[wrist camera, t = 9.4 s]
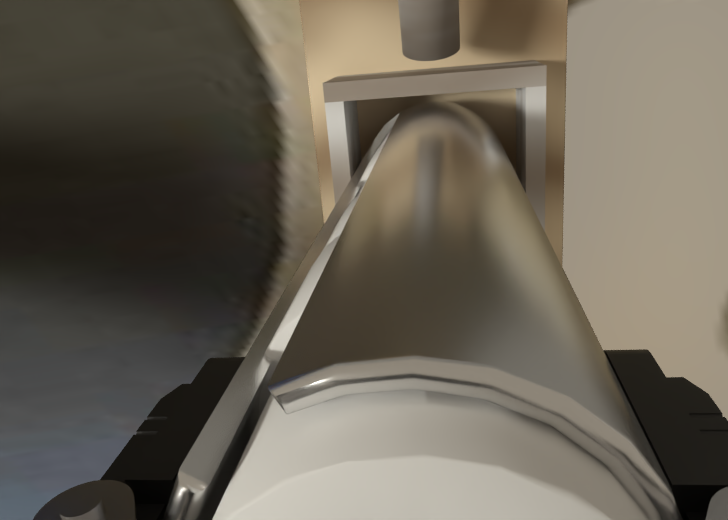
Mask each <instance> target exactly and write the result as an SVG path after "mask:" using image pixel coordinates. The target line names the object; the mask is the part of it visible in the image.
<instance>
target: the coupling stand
mask: <svg viewBox="0 0 728 520" xmlns="http://www.w3.org/2000/svg"><path fill="white" fill-rule="evenodd" d="M299 3H300V12H301V21H302V30H303V39H304V48H305V57H306V66H307V75H308V84H309V93H310V102H311V111H312V119H313V128H314V137H315V146H316V155H317V164H318V173H319V182H320V191H321V200H322V209H323V218H324V224H325V222H326V220H327V219H328V217H329V215H330V214H331V212H332V210H333V208H334V207H335V205H336V203H337V202H338V200H339V198H340V197H341V195H342V193H343V192H344V190H345V188H346V187H347V185H348V183H349V181H350V180H351V178H352V176H353V175H354V173H355V171H356V170H357V168H358V166H359V165H360V163H361V161H362V160H363V158H364V156H365V154H366V153H367V151H368V149H369V148H370V146H371V144H372V143H373V141H374V139H375V138H376V136H377V135H378V134H379V132H380V131H381V129H382V128H383V127H384V125H385V124H386V123H387V122H388V121H390V120H391V119H392V118H393V117H395V116H396V115H397V114H398V113H399V112H401V111H403V110H406V109H408V108H410V107H412V106H415V105H417V104H423V103H429V102H435V101H436V102H445V103H454V104H457V105H460V106H462V107H465V108H467V109H470V110H472V111H473V112H475V113H476V114H477V115H479V116H480V117H481V118H483V119H484V120H485V121H486V122H487V123H488V124H489V125H490V127H491V128H492V129H493V131H494V132H495V133H496V135H497V136H498V138H499V140H500V142H501V144H502V146H503V148H504V150H505V152H506V154H507V156H508V158H509V160H510V162H511V164H512V166H513V168H514V170H515V172H516V174H517V176H518V178H519V180H520V183H521V185H522V187H523V189H524V191H525V193H526V195H527V197H528V199H529V201H530V203H531V205H532V207H533V209H534V211H535V213H536V215H537V217H538V219H539V221H540V223H541V225H542V227H543V229H544V231H545V233H546V235H547V237H548V239H549V241H550V243H551V246H552V248H553V250H554V252H555V254H556V256H557V258H558V260H559V262H560V264H561V266H562V249H563V199H564V198H563V197H564V196H563V195H564V150H565V149H564V148H565V101H566V100H565V98H566V52H567V51H566V50H567V3H568V0H299Z"/></svg>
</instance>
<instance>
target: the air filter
mask: <svg viewBox="0 0 728 520" xmlns="http://www.w3.org/2000/svg"><path fill="white" fill-rule="evenodd" d="M163 520H683V519H682V516H681V513H680V510H679V508H678V505H677V502H676V499H675V497H674V494H673V491H672V489H671V487H670V485H669V483H668V481H667V479H666V477H665V475H664V473H663V471H662V469H661V467H660V465H659V463H658V461H657V459H656V457H655V455H654V453H653V451H652V449H651V447H650V445H649V443H648V441H647V439H646V436H645V434H644V432H643V430H642V428H641V426H640V424H639V422H638V420H637V418H636V416H635V414H634V412H633V410H632V408H631V406H630V404H629V402H628V400H627V398H626V396H625V394H624V392H623V390H622V388H621V386H620V384H619V382H618V380H617V378H616V376H615V374H614V371H613V369H612V367H611V365H610V363H609V361H608V359H607V357H606V355H605V353H604V351H603V349H602V347H601V345H600V343H599V341H598V339H597V337H596V335H595V333H594V331H593V329H592V327H591V325H590V323H589V321H588V319H587V317H586V315H585V313H584V311H583V308H582V307H581V304H580V302H579V300H578V298H577V297H576V294H575V292H574V290H573V288H572V286H571V284H570V282H569V280H568V278H567V276H566V274H565V272H564V270H563V268H562V266H561V264H560V262H559V260H558V258H557V256H556V254H555V252H554V250H553V248H552V246H551V243H550V241H549V239H548V237H547V235H546V233H545V231H544V229H543V227H542V225H541V223H540V221H539V219H538V217H537V215H536V213H535V211H534V209H533V207H532V205H531V203H530V201H529V199H528V197H527V195H526V193H525V191H524V189H523V187H522V185H521V183H520V180H519V178H518V176H517V174H516V172H515V170H514V168H513V166H512V164H511V162H510V160H509V158H508V156H507V154H506V152H505V150H504V148H503V146H502V144H501V142H500V140H499V138H498V136H497V135H496V133H495V132H494V131H493V129H492V128H491V127H490V125H489V124H488V123H487V122H486V121H485V120H484V119H483V118H481V117H480V116H479V115H477V114H476V113H475V112H473V111H472V110H470V109H467V108H465V107H462V106H460V105H457V104H454V103H445V102H436V101H435V102H429V103H423V104H417V105H415V106H412V107H410V108H408V109H406V110H403V111H401V112H399V113H398V114H397V115H396V116H395V117H393V118H392V119H391V120H390V121H388V122H387V123H386V124H385V125H384V127H383V128H382V129H381V131H380V132H379V134H378V135H377V136H376V138H375V139H374V141H373V143H372V144H371V146H370V148H369V149H368V151H367V153H366V154H365V156H364V158H363V160H362V161H361V163H360V165H359V166H358V168H357V170H356V171H355V173H354V175H353V176H352V178H351V180H350V181H349V183H348V185H347V187H346V188H345V190H344V192H343V193H342V195H341V197H340V198H339V200H338V202H337V203H336V205H335V207H334V208H333V210H332V212H331V214H330V215H329V217H328V219H327V220H326V222H325V224H324V225H323V227H322V229H321V230H320V232H319V234H318V235H317V237H316V239H315V241H314V242H313V244H312V246H311V247H310V249H309V251H308V252H307V254H306V256H305V257H304V259H303V261H302V262H301V264H300V266H299V268H298V269H297V271H296V273H295V274H294V276H293V278H292V279H291V281H290V283H289V284H288V286H287V288H286V289H285V291H284V293H283V295H282V296H281V298H280V300H279V301H278V303H277V305H276V306H275V308H274V310H273V311H272V313H271V315H270V316H269V318H268V320H267V322H266V323H265V325H264V327H263V328H262V330H261V332H260V333H259V335H258V337H257V338H256V340H255V342H254V343H253V345H252V347H251V349H250V350H249V352H248V354H247V355H246V357H245V359H244V360H243V362H242V364H241V365H240V367H239V369H238V370H237V372H236V374H235V376H234V377H233V379H232V381H231V382H230V384H229V386H228V387H227V389H226V391H225V392H224V394H223V396H222V397H221V399H220V401H219V403H218V404H217V406H216V408H215V409H214V411H213V413H212V414H211V416H210V418H209V419H208V421H207V423H206V424H205V426H204V428H203V429H202V431H201V433H200V435H199V436H198V438H197V440H196V441H195V443H194V445H193V446H192V448H191V450H190V451H189V453H188V455H187V456H186V458H185V460H184V462H183V463H182V465H181V467H180V468H179V471H178V474H177V478H176V481H175V484H174V487H173V490H172V493H171V496H170V499H169V502H168V505H167V508H166V511H165V514H164V518H163Z"/></svg>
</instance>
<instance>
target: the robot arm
mask: <svg viewBox="0 0 728 520" xmlns="http://www.w3.org/2000/svg"><path fill="white" fill-rule="evenodd" d="M604 353H605V355H606V357H607V359H608V361H609V363H610V365H611V367H612V369H613V371H614V374H615V376H616V378H617V380H618V382H619V384H620V386H621V388H622V390H623V392H624V394H625V396H626V398H627V400H628V402H629V404H630V406H631V408H632V410H633V412H634V414H635V416H636V418H637V420H638V422H639V424H640V426H641V428H642V430H643V432H644V434H645V436H646V439H647V441H648V443H649V445H650V447H651V449H652V451H653V453H654V455H655V457H656V459H657V461H658V463H659V465H660V467H661V469H662V471H663V473H664V475H665V477H666V479H667V481H668V483H669V485H670V487H671V489H672V491H673V494H674V497H675V499H676V502H677V505H678V508H679V510H680V513H681V516H682V519H683V520H728V421H727V419H726V418H725V417H722V413H721V411H720V410H719V408H718V407H717V405H716V404H715V403H714V401H713V400H712V398H711V397H710V396H709V394H708V393H706V392H705V391H703V390H702V389H700V388H699V387H697V386H696V385H694V384H692V383H691V382H690V381H688V380H687V379H685V378H683V377H675V378H674V377H673V378H672V377H671V378H666V377H665V375H664V374H663V372H662V370H661V369H660V367H659V366H658V364H657V362H656V361H655V359H654V358H653V356H652V355H651V353H650V352H649V351H648V350H604ZM244 359H245V357H233V358H210V359H208V360H207V362H206V363H205V364H204V366H203V367H202V369H201V370H200V372H199V373H198V374H197V376H196V377H195V379H194V380H193V382H192V383H191V384H182V385H180V386H179V387H177V388H176V389H174V390H173V391H172V392H170V393H169V394H167V395H166V396H164V397H163V398H162V399H160V401H159V402H158V403H157V405H156V406H155V407H154V409H153V410H152V411H151V413H150V414H149V415H148V417H147V420H145V421H144V422H143V423H142V425H141V426H140V427H139V429H138V430H137V434H136V435H133V437H132V438H131V439H130V441H129V442H128V443H127V445H126V446H125V447H124V449H123V450H122V451H121V453H120V454H119V455H118V457H117V458H116V459H115V461H114V462H113V463H112V465H111V466H110V467H109V469H108V470H107V471H106V473H105V474H104V475H103V477H102V478H101V479H100V480H98V481H92V482H87V483H84V484H81V485H78V486H75V487H73V488H70V489H68V490H66V491H64V492H62V493H61V494H59V495H57V496H56V497H54V498H53V499H51V500H50V501H49V502H48V503H47V504H45V505H44V506H43V507H42V508H41V509H40V510H39V512H38V513H37V514H36V515H35V517H34V519H33V520H163V518H164V514H165V511H166V508H167V505H168V502H169V499H170V496H171V493H172V490H173V487H174V484H175V481H176V478H177V474H178V471H179V468H180V467H181V465H182V463H183V462H184V460H185V458H186V456H187V455H188V453H189V451H190V450H191V448H192V446H193V445H194V443H195V441H196V440H197V438H198V436H199V435H200V433H201V431H202V429H203V428H204V426H205V424H206V423H207V421H208V419H209V418H210V416H211V414H212V413H213V411H214V409H215V408H216V406H217V404H218V403H219V401H220V399H221V397H222V396H223V394H224V392H225V391H226V389H227V387H228V386H229V384H230V382H231V381H232V379H233V377H234V376H235V374H236V372H237V370H238V369H239V367H240V365H241V364H242V362H243V360H244Z"/></svg>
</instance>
